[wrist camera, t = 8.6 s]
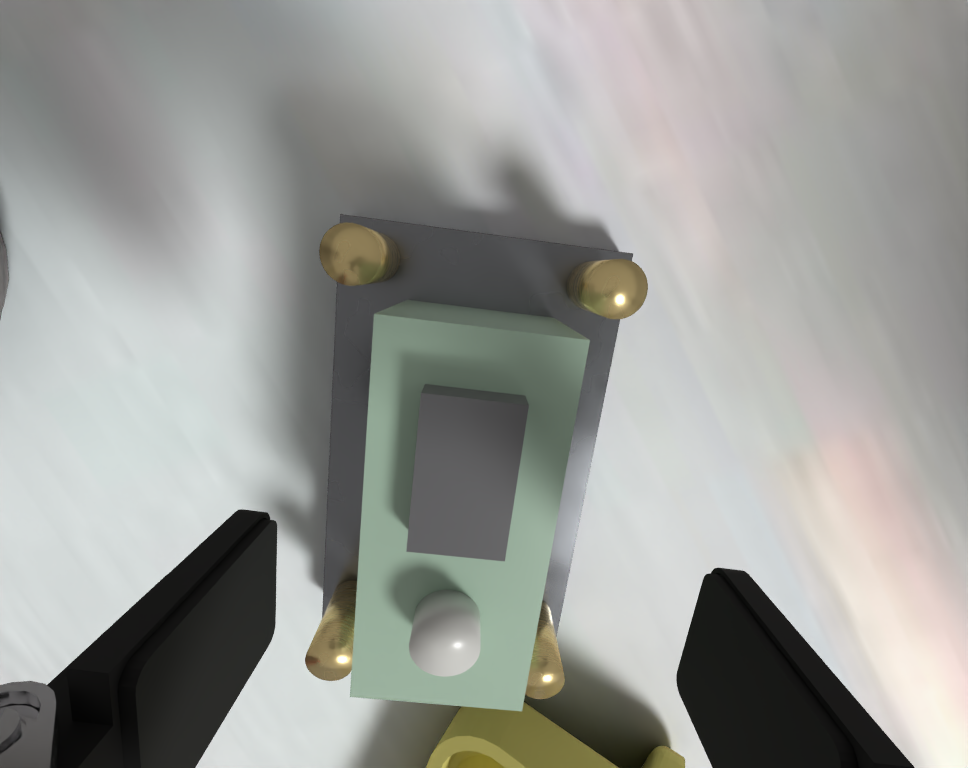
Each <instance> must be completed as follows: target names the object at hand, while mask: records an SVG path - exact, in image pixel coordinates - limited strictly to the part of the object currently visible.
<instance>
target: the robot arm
mask: <svg viewBox="0 0 968 768" xmlns="http://www.w3.org/2000/svg"><path fill="white" fill-rule="evenodd" d="M276 559H277V523H276V521H274V520H270V516H269V514H268V513H267V512H259V511H250V510H238V511H236V512H235V513H234V514H233V515H232V516H231V517H230V518H228V519H227V520H226V521H225V522H224V523H223V524H222V525H221V526H220V527H219V528H218V529H217V530H215V531H214V532H213V533H212V534H211V535H210V536H209V537H208V538H207V539H206V540H205V541H204V542H202V543H201V544H200V545H199V546H198V547H197V548H196V549H195V550H194V551H193V552H192V553H191V554H189V555H188V556H187V557H186V558H185V559H184V560H183V561H182V562H181V563H180V564H179V565H178V566H176V567H175V568H174V569H173V570H172V571H171V572H170V573H169V574H168V575H166V576H165V577H164V578H163V579H162V580H161V581H160V582H158V583H157V584H156V585H155V586H154V587H153V588H152V589H151V590H150V591H149V592H148V593H147V594H145V595H144V596H143V597H142V598H141V599H140V600H139V601H138V602H137V603H136V604H135V605H134V606H132V607H131V608H130V609H129V610H128V611H127V612H126V613H125V614H124V615H123V616H122V617H121V618H119V619H118V620H117V621H116V622H115V623H114V624H113V625H112V626H111V627H110V628H109V629H107V630H106V631H105V632H104V633H103V634H102V635H101V636H100V637H99V638H98V639H97V640H96V641H94V642H93V643H92V644H91V645H90V646H89V647H88V648H87V649H86V650H85V651H84V652H83V653H81V654H80V655H79V656H78V657H77V658H76V659H75V660H74V661H73V662H72V663H71V664H69V665H68V666H67V667H66V668H65V669H64V670H63V671H62V672H61V673H60V674H59V675H58V676H56V677H55V678H54V679H53V680H52V681H51V682H50V683H49V684H48V685H46V684H43V683H38V682H33V681H24V682H11V683H7V684H3V685H0V768H195V767H196V765H197V764H198V762H199V760H200V759H201V757H202V755H203V754H204V752H205V750H206V749H207V747H208V745H209V744H210V742H211V740H212V739H213V737H214V735H215V734H216V732H217V730H218V729H219V727H220V725H221V724H222V722H223V721H224V719H225V717H226V716H227V714H228V712H229V711H230V709H231V707H232V706H233V704H234V702H235V701H236V699H237V697H238V696H239V694H240V692H241V691H242V689H243V687H244V686H245V684H246V682H247V681H248V679H249V677H250V676H251V674H252V672H253V671H254V669H255V667H256V666H257V664H258V662H259V661H260V659H261V657H262V656H263V654H264V652H265V651H266V649H267V648H268V646H269V644H270V642H271V640H272V637H273V634H274V630H275V615H276ZM677 687H678V691H679V694H680V696H681V698H682V701H683V703H684V705H685V707H686V709H687V712H688V714H689V716H690V718H691V721H692V723H693V725H694V727H695V730H696V732H697V734H698V736H699V738H700V741H701V743H702V745H703V747H704V750H705V752H706V754H707V756H708V759H709V761H710V763H711V765H712V767H713V768H914V766H913V765H912V764H911V763H910V762H909V761H908V759H907V758H906V757H905V756H904V755H903V754H902V752H901V751H900V750H899V749H898V748H897V747H896V745H895V744H894V743H893V742H892V741H891V740H890V738H889V737H888V736H887V735H886V734H885V733H884V731H883V730H882V729H881V728H880V727H879V726H878V724H877V723H876V722H875V721H874V720H873V719H872V717H871V716H870V715H869V714H868V713H867V712H866V710H865V709H864V708H863V707H862V706H861V705H860V703H859V702H858V701H857V700H856V699H855V698H854V697H853V695H852V694H851V693H850V692H849V691H848V690H847V688H846V687H845V686H844V685H843V684H842V683H841V681H840V680H839V679H838V678H837V677H836V676H835V674H834V673H833V672H832V671H831V670H830V669H829V667H828V666H827V665H826V664H825V663H824V662H823V660H822V659H821V658H820V657H819V656H818V655H817V653H816V652H815V651H814V650H813V649H812V648H811V646H810V645H809V644H808V643H807V642H806V641H805V639H804V638H803V637H802V636H801V635H800V634H799V632H798V631H797V630H796V629H795V628H794V627H793V626H792V624H791V623H790V622H789V621H788V620H787V619H786V617H785V616H784V615H783V614H782V613H781V612H780V610H779V609H778V608H777V607H776V606H775V605H774V603H773V602H772V601H771V600H770V599H769V598H768V596H767V595H766V594H765V593H764V592H763V591H762V589H761V588H760V587H759V586H758V585H757V584H756V582H755V581H754V580H753V579H752V578H751V577H750V575H749V574H747V573H746V572H745V571H741V570H732V569H724V568H715V569H714V570H713V571H712V572H711V574H706V575H705V576H704V579H703V582H702V586H701V589H700V593H699V596H698V600H697V603H696V607H695V610H694V614H693V618H692V621H691V625H690V628H689V632H688V635H687V639H686V642H685V646H684V649H683V653H682V657H681V660H680V664H679V667H678V671H677Z"/></svg>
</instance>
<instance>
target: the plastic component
mask: <svg viewBox="0 0 968 768" xmlns="http://www.w3.org/2000/svg"><path fill="white" fill-rule="evenodd" d="M426 768H618V767H617V766H616V765H614V764H613V763H611V762H610V761H608V760H607V759H606V758H604V757H603V756H601V755H600V754H598V753H597V752H595V751H594V750H593V749H591V748H590V747H588V746H587V745H585V744H584V743H582V742H581V741H580V740H578V739H577V738H575V737H574V736H572V735H571V734H569V733H568V732H567V731H565V730H564V729H562V728H561V727H559V726H558V725H556V724H555V723H554V722H552V721H551V720H549V719H548V718H546V717H545V716H543V715H542V714H541V713H539V712H538V711H536V710H535V709H533V708H532V707H530V706H529V705H528V704H526V703H525V702H524V703H523V709H522V711H512V710H500V709H488V708H476V707H464V706H461V708H460V709H459V710H458V712H457V714H456V715H455V717H454V718H453V720H452V722H451V723H450V725H449V727H448V728H447V730H446V731H445V733H444V735H443V736H442V738H441V740H440V741H439V743H438V744H437V746H436V748H435V749H434V751H433V753H432V754H431V756H430V759H429V761H428V764H427V766H426ZM642 768H685V759H684V757H682V756H681V755H679V754H678V753H676V752H675V751H673V750H671V749H670V748H668V747H666V746H659V747H656V748H655V749H654V750H653V751H652V752H651V753H650V754H649V756H648V757H647V759H646V761H645V763H644V765H643V767H642Z"/></svg>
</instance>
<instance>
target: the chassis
mask: <svg viewBox="0 0 968 768" xmlns="http://www.w3.org/2000/svg"><path fill="white" fill-rule="evenodd" d="M319 253H320V260H321V263H322V266H323V268H324V270H325V271H326V272H327V274H328V275H329V276H330V277H331V278H332V279H334V280H335V281H337V300H336V323H335V345H334V367H333V389H332V412H331V434H330V456H329V479H328V501H327V523H326V546H325V568H324V590H323V613H322V620H321V623H320V625H319V627H318V629H317V632H316V634H315V636H314V638H313V640H312V643H311V645H310V647H309V649H308V652H307V654H306V658H305V662H306V666H307V668H308V670H309V671H310V672H311V673H312V674H313V675H314V676H316V677H317V678H320V679H322V680H327V681H335V680H339V679H342V678H344V677H346V676H347V675H348V674H349V673H350V672H351V670H352V657H353V641H354V625H355V609H356V593H357V577H358V561H359V545H360V529H361V513H362V497H363V481H364V465H365V449H366V433H367V417H368V401H369V385H370V369H371V353H372V337H373V321H374V314H375V313H377V312H380V311H382V310H384V309H387V308H389V307H391V306H394V305H396V304H399V303H401V302H403V301H406V300H413V301H421V302H429V303H438V304H446V305H454V306H462V307H470V308H478V309H486V310H494V311H502V312H510V313H518V314H526V315H534V316H543V317H551V318H555V319H557V320H558V321H560V322H561V323H563V324H565V325H566V326H568V327H570V328H571V329H573V330H574V331H576V332H578V333H579V334H581V335H582V336H584V337H586V338H587V339H589V340H590V343H589V348H588V354H587V359H586V365H585V370H584V376H583V381H582V387H581V392H580V398H579V403H578V408H577V414H576V419H575V425H574V430H573V436H572V441H571V447H570V452H569V458H568V463H567V469H566V474H565V479H564V485H563V490H562V496H561V501H560V507H559V512H558V518H557V523H556V529H555V534H554V540H553V545H552V550H551V556H550V561H549V567H548V572H547V578H546V583H545V589H544V594H543V600H542V605H541V610H540V616H539V621H538V627H537V632H536V638H535V643H534V649H533V654H532V660H531V665H530V671H529V676H528V681H527V687H526V692H525V695H527V696H529V697H531V698H534V699H547V698H550V697H552V696H554V695H556V694H557V693H558V692H560V690H561V689H562V688H563V686H564V682H565V677H564V672H563V667H562V663H561V658H560V653H559V649H558V644H557V639H556V636H557V631H558V626H559V621H560V616H561V611H562V606H563V601H564V596H565V591H566V586H567V581H568V576H569V571H570V566H571V561H572V556H573V551H574V546H575V541H576V536H577V531H578V526H579V521H580V516H581V511H582V506H583V501H584V496H585V491H586V487H587V482H588V477H589V472H590V467H591V462H592V457H593V452H594V447H595V442H596V437H597V432H598V427H599V422H600V417H601V412H602V407H603V402H604V397H605V392H606V387H607V382H608V377H609V372H610V367H611V362H612V357H613V352H614V347H615V342H616V337H617V332H618V327H619V322H620V319H623V318H626V317H629V316H631V315H632V314H634V313H635V312H636V311H637V310H638V309H639V308H640V307H641V306H642V304H643V303H644V301H645V298H646V295H647V290H648V284H647V279H646V276H645V274H644V272H643V270H642V269H641V268H640V267H639V266H638V265H637V264H636V263H634V262H632V257H633V254H632V253H625V252H617V251H610V250H602V249H595V248H587V247H580V246H573V245H565V244H558V243H550V242H543V241H535V240H528V239H521V238H513V237H506V236H498V235H491V234H483V233H476V232H468V231H461V230H454V229H446V228H439V227H431V226H424V225H416V224H409V223H401V222H394V221H387V220H379V219H372V218H364V217H357V216H349V215H342V214H340V224H337V225H335V226H333V227H332V228H330V229H329V230H328V231H327V232H326V234H325V235H324V236H323V238H322V241H321V244H320V250H319Z"/></svg>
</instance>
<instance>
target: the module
mask: <svg viewBox="0 0 968 768" xmlns="http://www.w3.org/2000/svg"><path fill="white" fill-rule="evenodd" d="M589 343H590V340H589V339H587V338H586V337H584V336H582V335H581V334H579V333H578V332H576V331H574V330H573V329H571V328H570V327H568V326H566V325H565V324H563V323H561V322H560V321H558V320H557V319H555V318H551V317H543V316H534V315H526V314H518V313H510V312H502V311H494V310H486V309H478V308H470V307H462V306H454V305H446V304H438V303H429V302H421V301H413V300H406V301H403V302H401V303H399V304H396V305H394V306H391V307H389V308H387V309H384V310H382V311H380V312H377V313H375V314H374V321H373V337H372V353H371V369H370V385H369V401H368V417H367V433H366V449H365V465H364V481H363V497H362V513H361V529H360V545H359V561H358V577H357V593H356V609H355V625H354V641H353V657H352V673H351V689H350V697H358V698H369V699H381V700H393V701H405V702H417V703H429V704H441V705H453V706H464V707H476V708H488V709H500V710H512V711H522V709H523V703H524V698H525V692H526V687H527V681H528V676H529V671H530V665H531V660H532V654H533V649H534V643H535V638H536V632H537V627H538V621H539V616H540V610H541V605H542V600H543V594H544V589H545V583H546V578H547V572H548V567H549V561H550V556H551V550H552V545H553V540H554V534H555V529H556V523H557V518H558V512H559V507H560V501H561V496H562V490H563V485H564V479H565V474H566V469H567V463H568V458H569V452H570V447H571V441H572V436H573V430H574V425H575V419H576V414H577V408H578V403H579V398H580V392H581V387H582V381H583V376H584V370H585V365H586V359H587V354H588V348H589Z"/></svg>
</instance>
